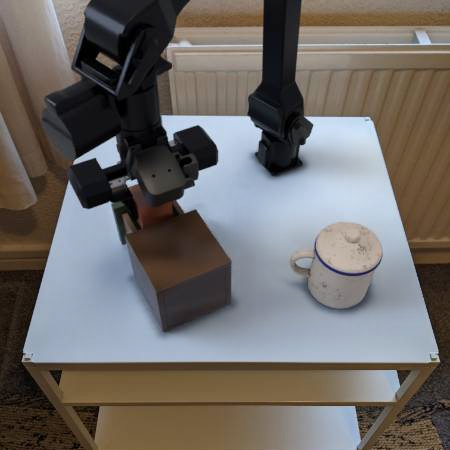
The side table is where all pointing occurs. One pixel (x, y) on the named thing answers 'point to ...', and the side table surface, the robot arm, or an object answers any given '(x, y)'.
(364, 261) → the teacup with lid
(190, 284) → the cabinet
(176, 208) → the drawer
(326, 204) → the side table surface
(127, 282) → the side table surface
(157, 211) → the block
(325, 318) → the side table surface
